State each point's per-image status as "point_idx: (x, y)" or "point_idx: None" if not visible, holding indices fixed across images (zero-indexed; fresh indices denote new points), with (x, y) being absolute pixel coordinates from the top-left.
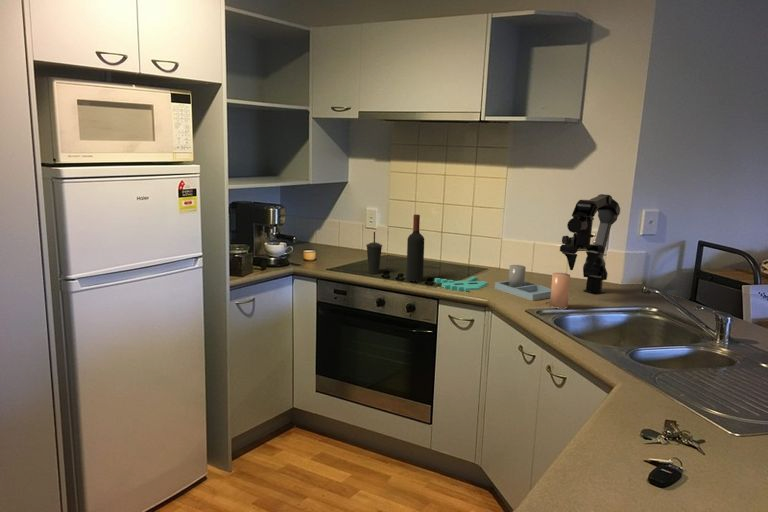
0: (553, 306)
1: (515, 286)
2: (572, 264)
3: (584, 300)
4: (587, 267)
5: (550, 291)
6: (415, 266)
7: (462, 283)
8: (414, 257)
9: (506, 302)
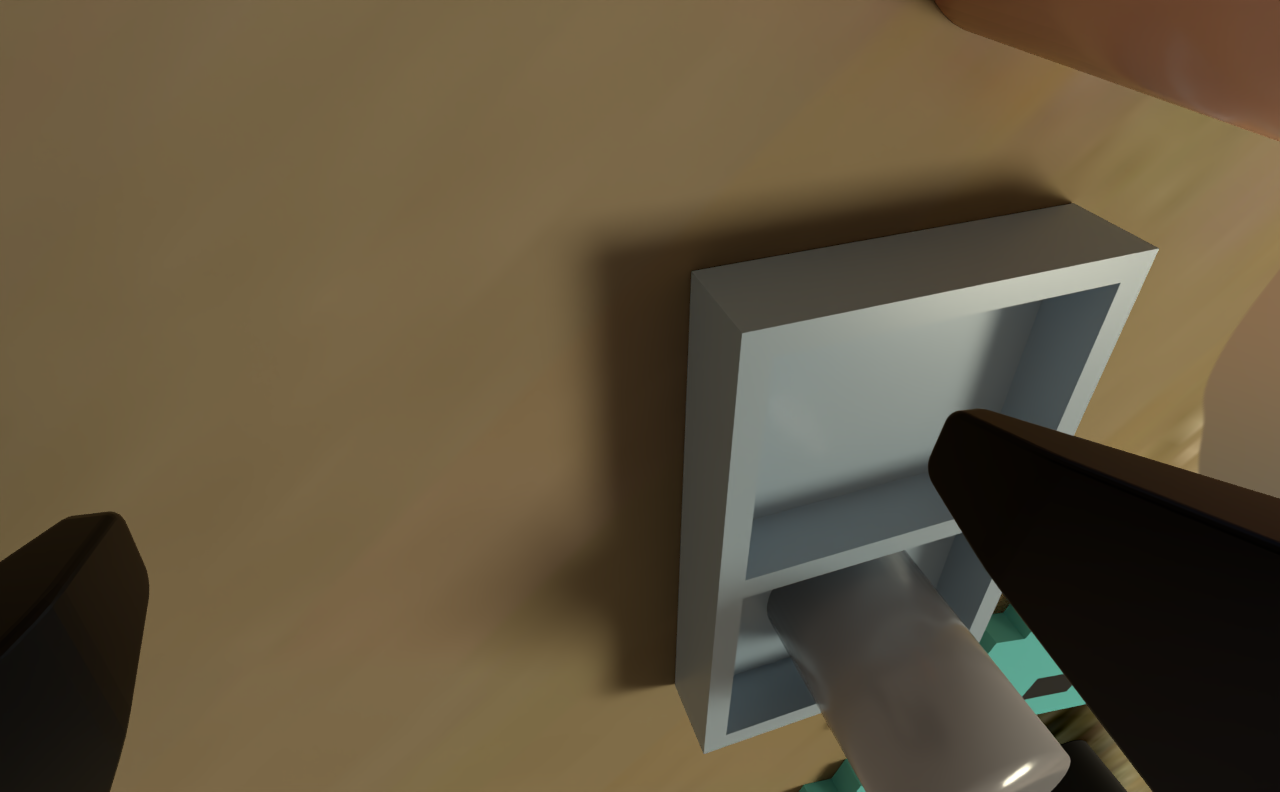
0: None
1: (923, 574)
2: (1241, 494)
3: (336, 26)
4: (132, 631)
5: (873, 310)
6: None
7: (1024, 696)
8: None
9: (1189, 303)
